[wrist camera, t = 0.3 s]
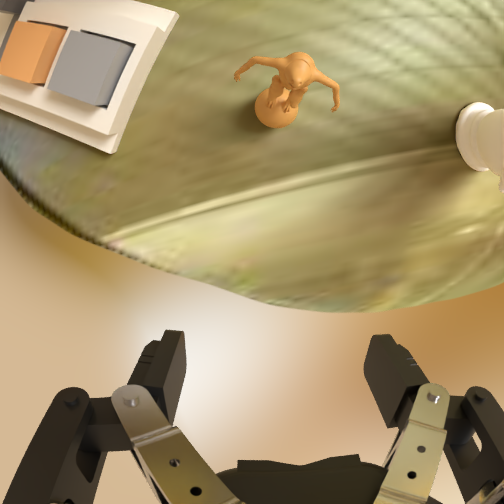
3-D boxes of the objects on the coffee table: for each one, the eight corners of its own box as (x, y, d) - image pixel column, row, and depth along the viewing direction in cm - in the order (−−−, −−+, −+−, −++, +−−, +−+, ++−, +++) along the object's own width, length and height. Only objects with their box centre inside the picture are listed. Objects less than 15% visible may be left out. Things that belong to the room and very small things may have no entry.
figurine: (228, 114, 29) (214, 117, 18) (245, 59, 26) (242, 30, 15) (308, 138, 30) (340, 156, 19) (326, 84, 27) (368, 73, 16)
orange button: (33, 24, 20) (16, 20, 17) (69, 31, 21) (52, 26, 18) (14, 73, 22) (-4, 73, 19) (47, 83, 23) (30, 83, 21)
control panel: (17, -12, 19) (-1, -17, 15) (179, 16, 24) (169, 4, 20) (-24, 95, 25) (-43, 98, 21) (116, 151, 30) (100, 158, 26)
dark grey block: (18, -7, 18) (-6, -14, 14) (38, -6, 19) (13, -15, 14) (8, 14, 19) (-17, 9, 15) (27, 15, 20) (1, 10, 15)
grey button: (86, 35, 22) (70, 29, 19) (134, 48, 23) (121, 42, 20) (64, 88, 24) (46, 88, 21) (109, 104, 25) (94, 105, 22)
